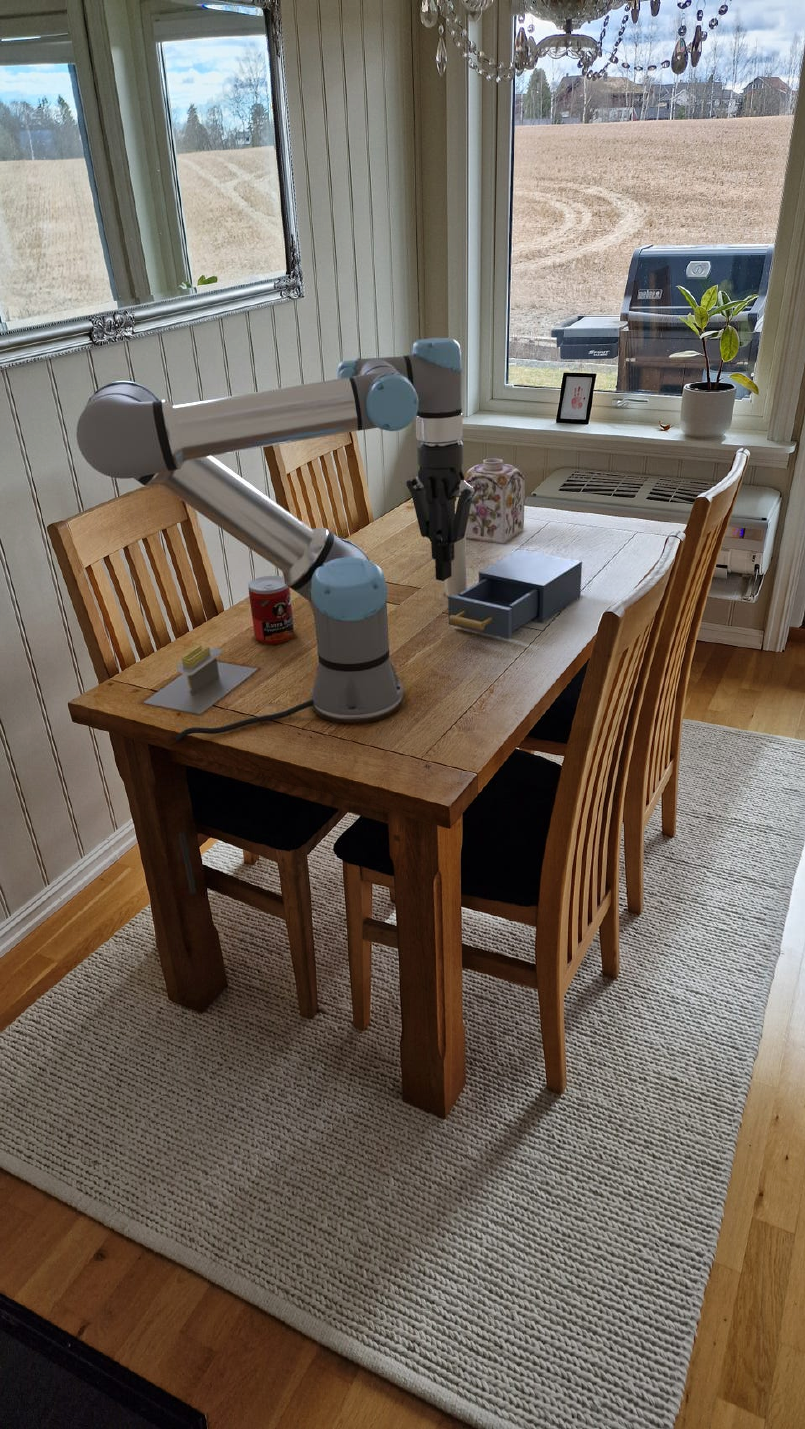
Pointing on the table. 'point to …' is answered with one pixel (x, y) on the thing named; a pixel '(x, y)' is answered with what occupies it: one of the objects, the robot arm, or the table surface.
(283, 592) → the canned food
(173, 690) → the platform
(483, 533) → the decorative jar
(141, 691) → the table surface
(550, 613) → the cabinet
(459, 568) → the candle
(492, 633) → the drawer
